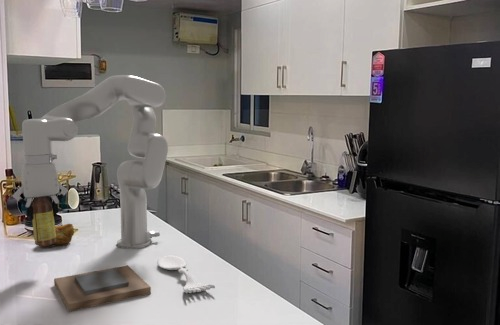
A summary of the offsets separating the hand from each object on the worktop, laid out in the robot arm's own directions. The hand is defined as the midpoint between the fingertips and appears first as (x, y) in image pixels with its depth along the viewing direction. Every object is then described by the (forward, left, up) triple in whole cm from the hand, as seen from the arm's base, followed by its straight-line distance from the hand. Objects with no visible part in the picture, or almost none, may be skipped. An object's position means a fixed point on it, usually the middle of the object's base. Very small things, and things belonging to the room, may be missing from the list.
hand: (42, 216), depth 145 cm
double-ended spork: (-35, +26, -19) cm, 47 cm away
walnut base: (-11, +22, -18) cm, 31 cm away
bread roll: (-8, -28, -18) cm, 34 cm away
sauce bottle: (0, 0, -9) cm, 9 cm away
